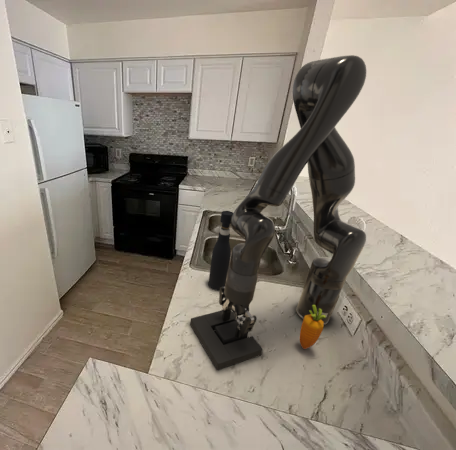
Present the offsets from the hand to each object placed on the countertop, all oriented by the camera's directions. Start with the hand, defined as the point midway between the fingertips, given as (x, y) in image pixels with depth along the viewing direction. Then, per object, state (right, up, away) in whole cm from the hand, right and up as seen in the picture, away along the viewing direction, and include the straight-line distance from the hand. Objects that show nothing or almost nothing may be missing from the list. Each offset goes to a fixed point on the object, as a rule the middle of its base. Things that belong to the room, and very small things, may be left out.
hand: (231, 327), depth 74 cm
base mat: (-2, -4, +1) cm, 4 cm away
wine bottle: (+1, +7, +23) cm, 24 cm away
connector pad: (0, -4, +2) cm, 4 cm away
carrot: (+20, -5, -2) cm, 21 cm away
